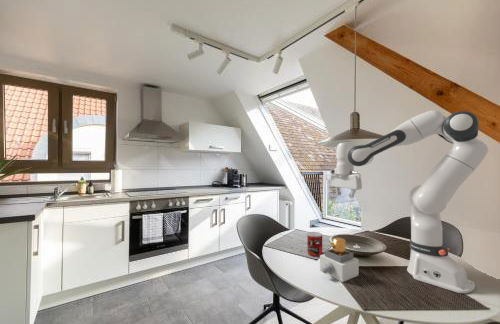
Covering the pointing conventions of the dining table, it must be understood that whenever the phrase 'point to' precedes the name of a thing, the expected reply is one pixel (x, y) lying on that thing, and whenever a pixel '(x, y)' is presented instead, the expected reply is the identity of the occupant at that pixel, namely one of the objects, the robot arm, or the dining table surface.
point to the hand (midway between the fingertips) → (345, 196)
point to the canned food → (314, 243)
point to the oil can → (338, 246)
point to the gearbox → (339, 265)
